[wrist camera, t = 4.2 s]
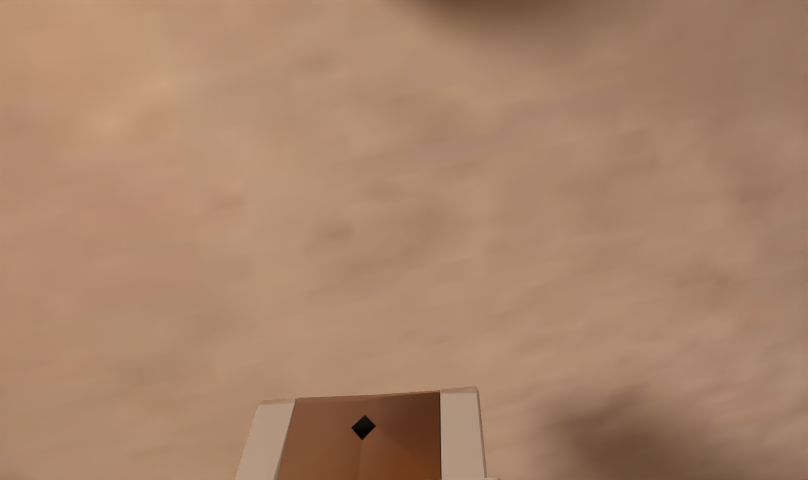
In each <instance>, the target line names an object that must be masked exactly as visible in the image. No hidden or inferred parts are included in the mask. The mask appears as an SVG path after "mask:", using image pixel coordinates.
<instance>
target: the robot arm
mask: <svg viewBox="0 0 808 480" xmlns="http://www.w3.org/2000/svg"><path fill="white" fill-rule="evenodd" d="M235 480H500V479H499V478H487V472H486V461H485V451H484V441H483V430H482V420H481V410H480V399H479V391H478V389H477V388H476V387H464V388H453V389H441V392H440V390H437V391H423V392H408V393H394V394H379V395H360V396H334V397H308V398H299V399H274V400H263V401H262V402H261V404H260V405H259V406H258V407H257V410H256V413H255V416H254V419H253V422H252V425H251V429H250V432H249V435H248V438H247V441H246V445H245V448H244V451H243V454H242V457H241V461H240V464H239V467H238V470H237V473H236V476H235Z"/></svg>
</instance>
